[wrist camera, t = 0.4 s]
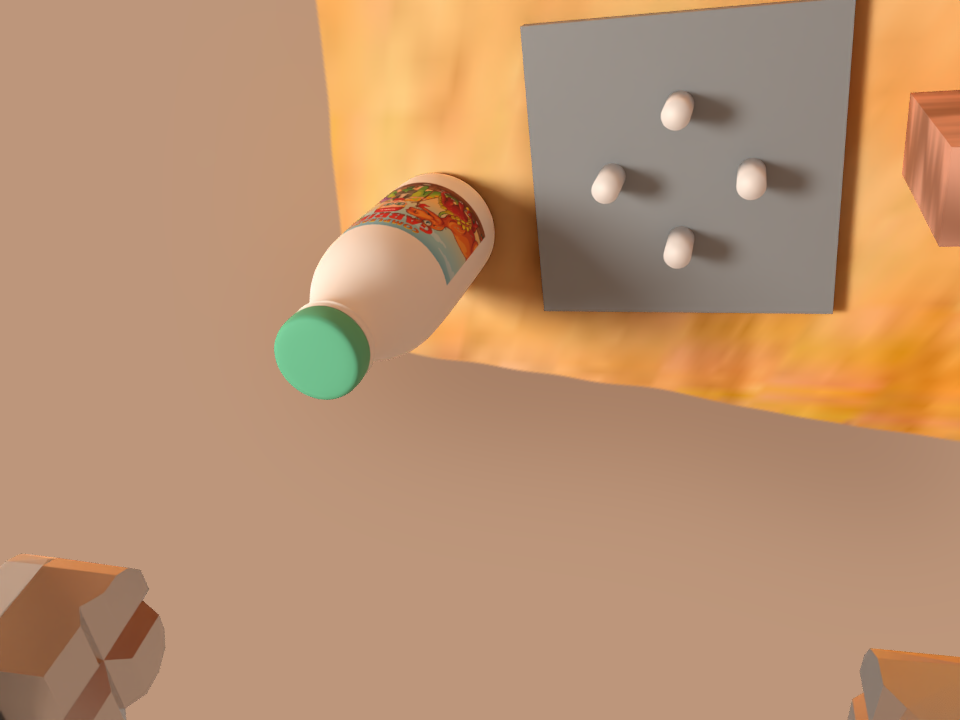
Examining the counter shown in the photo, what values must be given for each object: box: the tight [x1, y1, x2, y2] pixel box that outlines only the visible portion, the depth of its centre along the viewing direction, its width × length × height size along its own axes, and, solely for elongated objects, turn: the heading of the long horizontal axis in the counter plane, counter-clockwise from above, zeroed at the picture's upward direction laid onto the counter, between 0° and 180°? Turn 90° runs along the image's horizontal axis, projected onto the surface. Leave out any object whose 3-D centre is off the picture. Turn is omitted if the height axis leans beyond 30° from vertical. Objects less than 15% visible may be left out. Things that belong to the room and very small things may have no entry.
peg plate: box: [520, 0, 856, 314], centre depth 51 cm, size 18×18×4 cm
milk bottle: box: [274, 173, 495, 400], centre depth 51 cm, size 8×8×20 cm
